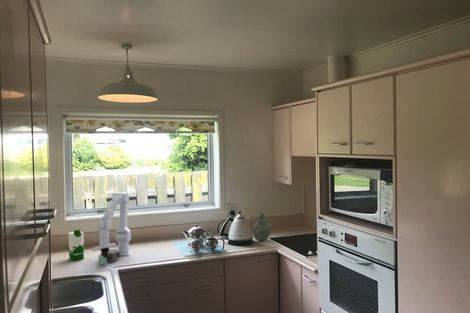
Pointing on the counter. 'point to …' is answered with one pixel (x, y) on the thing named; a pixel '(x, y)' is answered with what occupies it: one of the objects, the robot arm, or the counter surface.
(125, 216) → the robot arm
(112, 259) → the camera body
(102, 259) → the side door
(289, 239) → the counter surface
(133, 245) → the counter surface
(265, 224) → the flask
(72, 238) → the milk carton
